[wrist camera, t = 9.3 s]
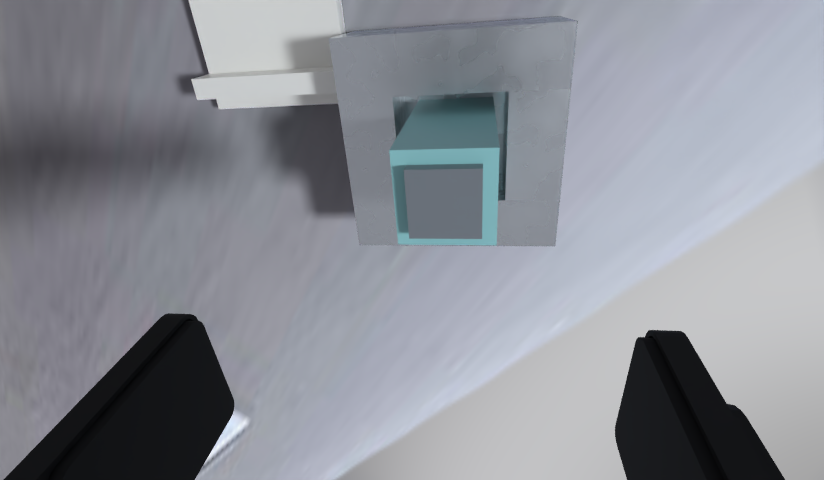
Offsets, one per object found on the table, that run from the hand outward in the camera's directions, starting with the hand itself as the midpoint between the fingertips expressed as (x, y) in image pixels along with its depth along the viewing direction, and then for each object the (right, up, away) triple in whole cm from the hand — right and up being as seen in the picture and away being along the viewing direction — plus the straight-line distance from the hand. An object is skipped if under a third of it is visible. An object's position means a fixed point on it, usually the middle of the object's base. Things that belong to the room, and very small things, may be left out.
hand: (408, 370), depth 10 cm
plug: (+3, +9, +18) cm, 20 cm away
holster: (-8, +16, +17) cm, 25 cm away
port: (+3, +10, +19) cm, 21 cm away
